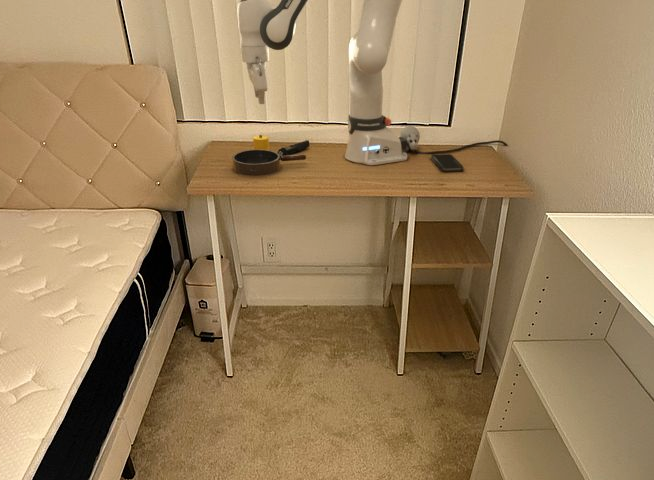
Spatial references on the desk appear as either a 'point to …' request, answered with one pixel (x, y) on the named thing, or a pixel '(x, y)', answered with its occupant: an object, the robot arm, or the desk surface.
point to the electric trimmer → (293, 148)
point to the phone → (447, 163)
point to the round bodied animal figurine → (410, 137)
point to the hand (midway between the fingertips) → (259, 100)
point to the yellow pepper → (261, 142)
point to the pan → (256, 162)
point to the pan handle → (293, 157)
